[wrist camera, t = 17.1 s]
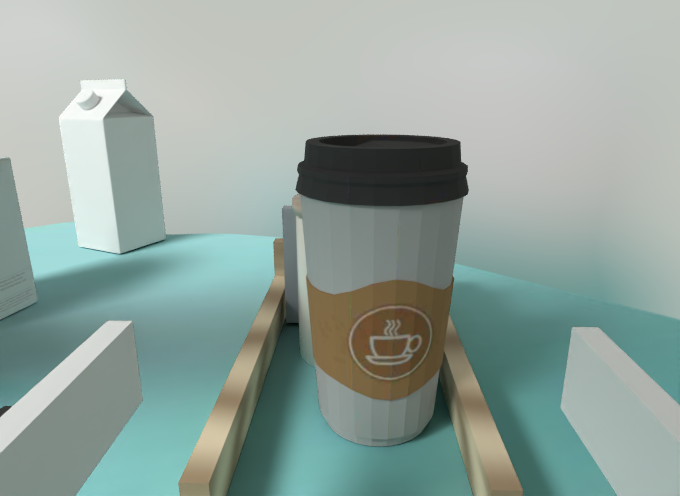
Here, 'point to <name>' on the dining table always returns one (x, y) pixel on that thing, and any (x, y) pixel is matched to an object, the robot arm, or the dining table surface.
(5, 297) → the supplement box
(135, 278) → the dining table surface
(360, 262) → the coffee cup
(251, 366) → the lane
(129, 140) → the milk carton
